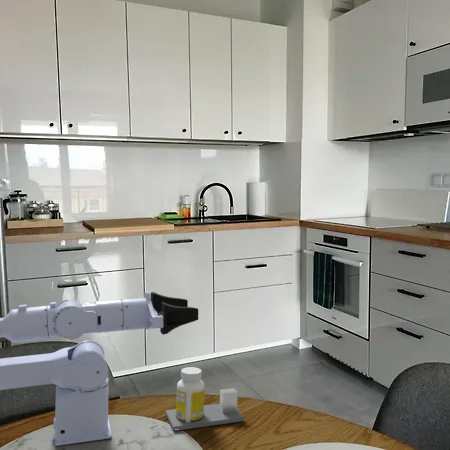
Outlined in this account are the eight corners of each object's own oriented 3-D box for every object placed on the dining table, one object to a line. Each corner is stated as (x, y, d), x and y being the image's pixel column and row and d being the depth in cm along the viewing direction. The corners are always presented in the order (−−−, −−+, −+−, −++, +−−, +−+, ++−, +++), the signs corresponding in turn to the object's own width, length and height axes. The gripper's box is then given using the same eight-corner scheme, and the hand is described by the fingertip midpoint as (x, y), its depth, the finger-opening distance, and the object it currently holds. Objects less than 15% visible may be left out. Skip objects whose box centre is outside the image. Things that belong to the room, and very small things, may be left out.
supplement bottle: (205, 415, 90) (207, 366, 90) (201, 428, 85) (203, 376, 84) (178, 412, 91) (180, 364, 90) (172, 425, 85) (175, 374, 85)
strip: (173, 430, 83) (173, 405, 83) (165, 414, 90) (166, 390, 90) (243, 421, 88) (244, 396, 88) (231, 405, 94) (232, 383, 94)
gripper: (126, 302, 77) (203, 296, 81) (117, 286, 90) (183, 282, 95) (127, 343, 77) (203, 335, 82) (117, 321, 91) (183, 315, 95)
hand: (192, 309), depth 88 cm, fingers open, 7 cm apart
